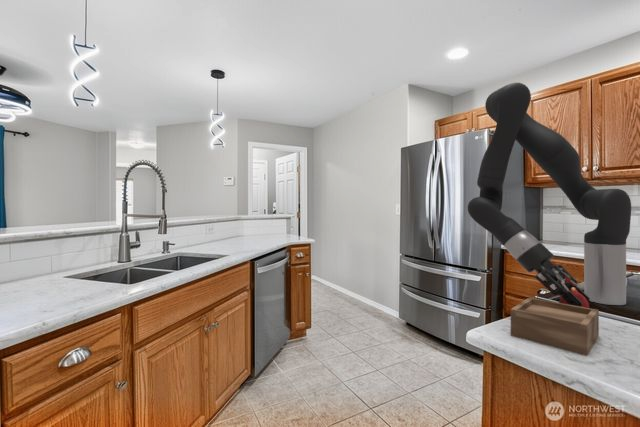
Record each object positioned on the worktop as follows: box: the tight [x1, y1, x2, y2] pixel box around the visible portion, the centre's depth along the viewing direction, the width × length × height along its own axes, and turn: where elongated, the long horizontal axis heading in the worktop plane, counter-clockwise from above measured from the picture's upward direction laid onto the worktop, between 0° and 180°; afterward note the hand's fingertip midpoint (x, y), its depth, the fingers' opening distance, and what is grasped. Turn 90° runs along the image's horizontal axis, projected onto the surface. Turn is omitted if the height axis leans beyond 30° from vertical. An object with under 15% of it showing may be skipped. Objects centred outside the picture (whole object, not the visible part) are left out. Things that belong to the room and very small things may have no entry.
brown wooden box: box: [510, 297, 600, 357], centre depth 68 cm, size 13×13×6 cm
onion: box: [558, 287, 590, 308], centre depth 78 cm, size 6×6×8 cm
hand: (582, 304), depth 76 cm, fingers closed on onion, 5 cm apart
